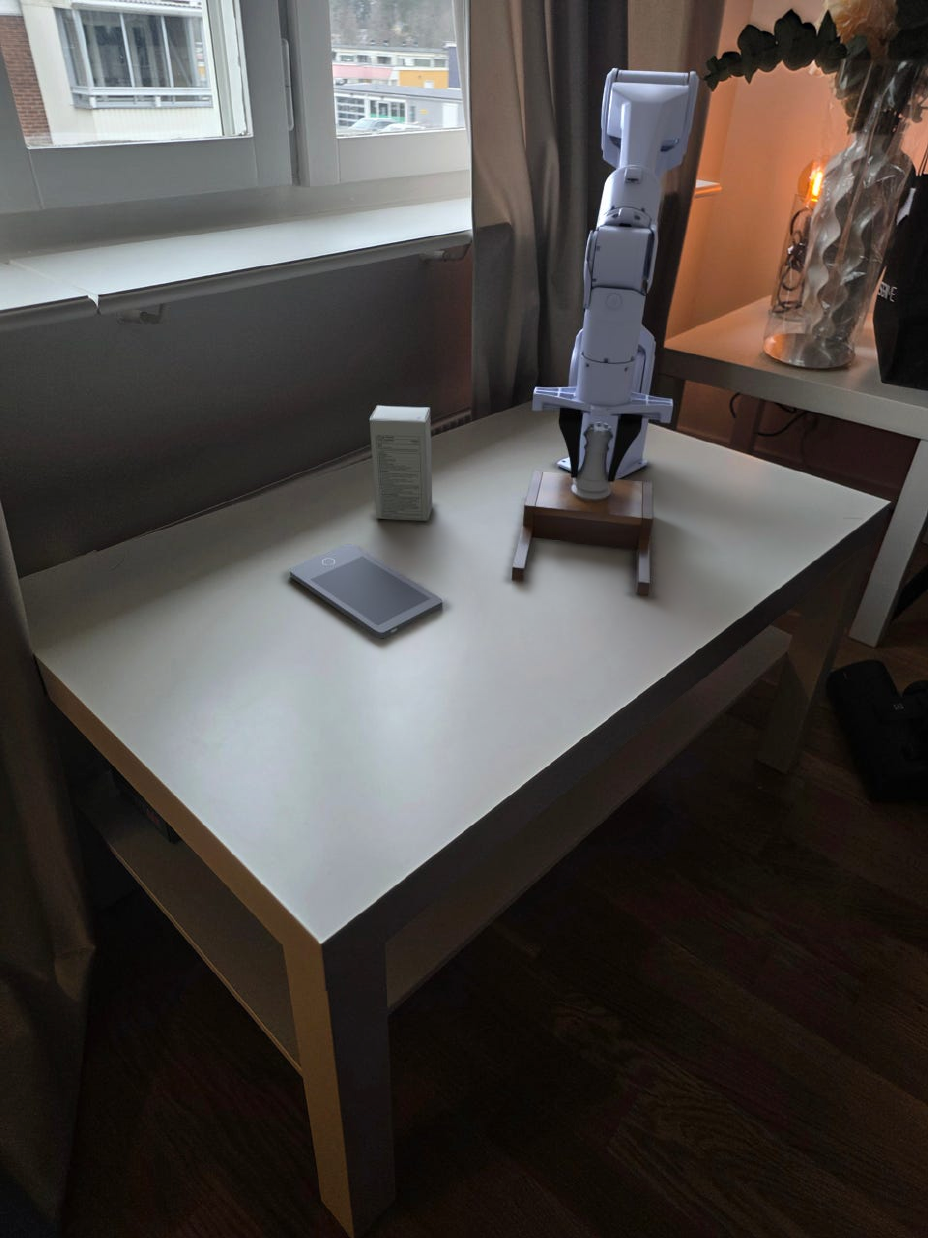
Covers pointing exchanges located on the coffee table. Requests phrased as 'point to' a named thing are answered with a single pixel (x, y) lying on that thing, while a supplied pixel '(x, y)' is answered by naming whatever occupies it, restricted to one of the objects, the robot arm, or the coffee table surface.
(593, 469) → the rook chess piece
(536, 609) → the coffee table surface
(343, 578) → the smartphone
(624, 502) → the brown u-shaped piece
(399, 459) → the cosmetic box
